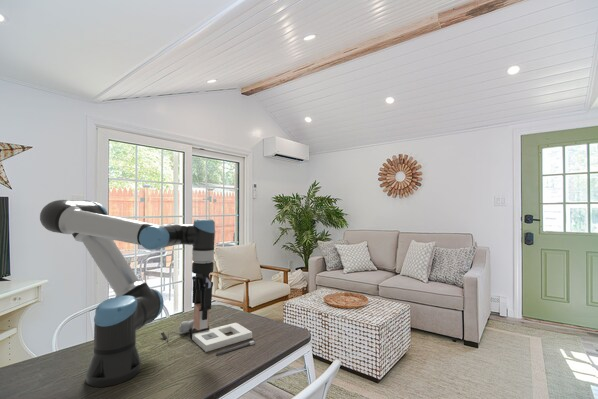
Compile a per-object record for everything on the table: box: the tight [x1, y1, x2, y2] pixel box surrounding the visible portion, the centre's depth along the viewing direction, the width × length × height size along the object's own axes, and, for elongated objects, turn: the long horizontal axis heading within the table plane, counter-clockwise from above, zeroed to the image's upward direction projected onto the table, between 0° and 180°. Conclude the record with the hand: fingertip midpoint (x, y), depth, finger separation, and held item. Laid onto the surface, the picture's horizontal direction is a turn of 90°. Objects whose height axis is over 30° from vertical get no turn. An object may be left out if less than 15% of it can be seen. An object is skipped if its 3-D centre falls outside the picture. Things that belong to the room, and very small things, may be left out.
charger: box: [193, 303, 210, 330], centre depth 109 cm, size 4×4×8 cm
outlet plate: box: [191, 322, 253, 353], centre depth 124 cm, size 20×14×3 cm
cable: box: [215, 340, 256, 356], centre depth 115 cm, size 16×1×1 cm, turn 130°
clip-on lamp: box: [160, 319, 210, 341], centre depth 127 cm, size 12×6×18 cm
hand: (200, 326), depth 109 cm, fingers closed on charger, 4 cm apart
